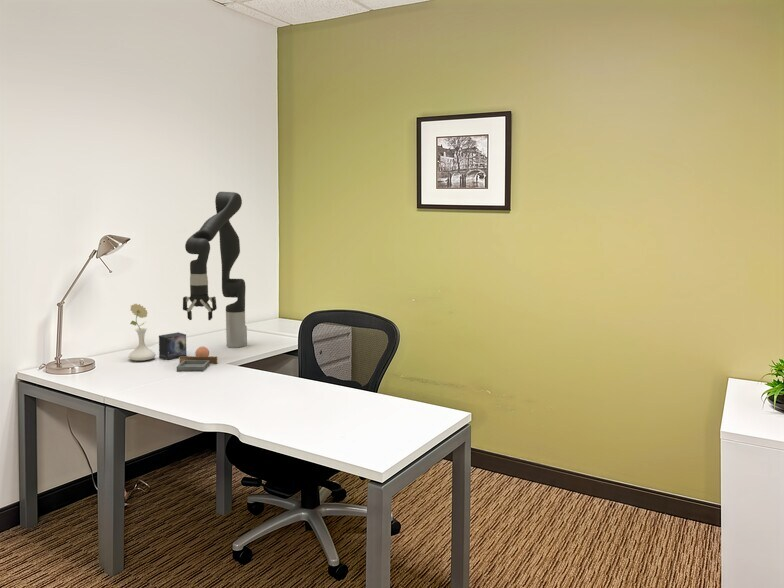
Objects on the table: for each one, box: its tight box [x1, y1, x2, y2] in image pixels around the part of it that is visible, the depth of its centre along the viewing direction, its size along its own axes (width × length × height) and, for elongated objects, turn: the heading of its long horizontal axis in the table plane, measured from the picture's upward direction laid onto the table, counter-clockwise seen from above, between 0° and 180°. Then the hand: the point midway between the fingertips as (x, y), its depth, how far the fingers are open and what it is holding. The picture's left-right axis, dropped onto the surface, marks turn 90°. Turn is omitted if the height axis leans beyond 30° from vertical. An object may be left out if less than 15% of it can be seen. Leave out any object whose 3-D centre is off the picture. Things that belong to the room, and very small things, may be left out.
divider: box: [179, 355, 218, 365], centre depth 279 cm, size 1×16×3 cm, turn 92°
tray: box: [175, 360, 211, 372], centre depth 271 cm, size 11×11×2 cm
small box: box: [158, 331, 187, 361], centre depth 290 cm, size 11×6×10 cm, turn 143°
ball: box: [194, 346, 210, 357], centre depth 286 cm, size 6×6×6 cm
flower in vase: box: [128, 303, 157, 362], centre depth 284 cm, size 13×11×25 cm
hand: (200, 319), depth 284 cm, fingers open, 8 cm apart
